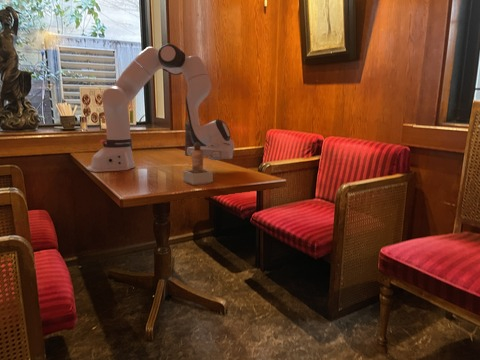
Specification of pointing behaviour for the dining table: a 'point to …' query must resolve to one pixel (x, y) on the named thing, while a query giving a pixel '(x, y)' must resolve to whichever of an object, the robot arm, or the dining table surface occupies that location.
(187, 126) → the candle
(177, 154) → the dining table surface
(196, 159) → the pepper mill
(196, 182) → the box
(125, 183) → the dining table surface
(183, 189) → the dining table surface
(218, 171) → the dining table surface
